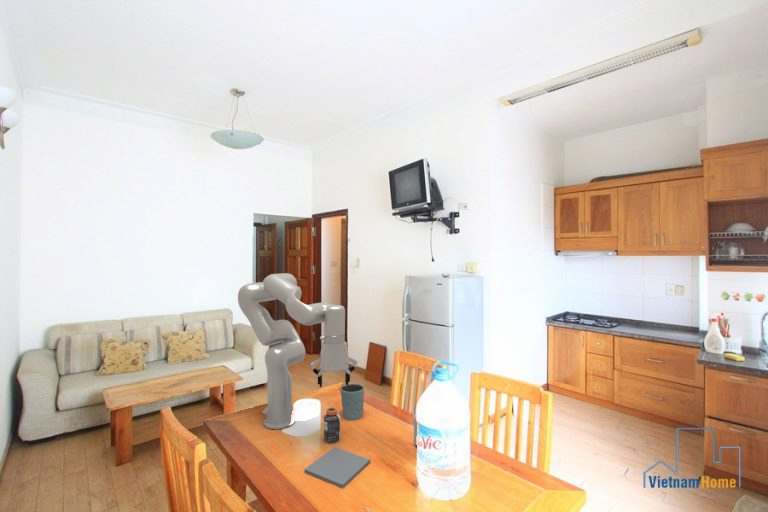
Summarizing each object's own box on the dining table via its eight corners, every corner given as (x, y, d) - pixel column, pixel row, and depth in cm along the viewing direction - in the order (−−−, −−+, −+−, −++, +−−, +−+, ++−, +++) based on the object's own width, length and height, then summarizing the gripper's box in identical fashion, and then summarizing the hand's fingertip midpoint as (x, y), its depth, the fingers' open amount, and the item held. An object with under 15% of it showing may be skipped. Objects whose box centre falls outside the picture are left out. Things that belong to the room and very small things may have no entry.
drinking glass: (363, 421, 146) (363, 392, 146) (338, 421, 147) (338, 391, 146) (364, 410, 157) (364, 383, 156) (342, 410, 157) (342, 383, 157)
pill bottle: (342, 436, 134) (342, 406, 134) (336, 444, 128) (336, 413, 128) (327, 434, 135) (327, 405, 135) (321, 442, 130) (321, 411, 130)
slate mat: (304, 472, 112) (304, 469, 112) (334, 449, 125) (334, 446, 125) (342, 488, 104) (342, 484, 104) (370, 462, 117) (370, 459, 117)
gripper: (310, 342, 125) (310, 390, 126) (359, 340, 129) (358, 387, 130) (310, 337, 133) (309, 383, 133) (356, 335, 137) (355, 379, 137)
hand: (333, 385), depth 131 cm, fingers open, 9 cm apart
